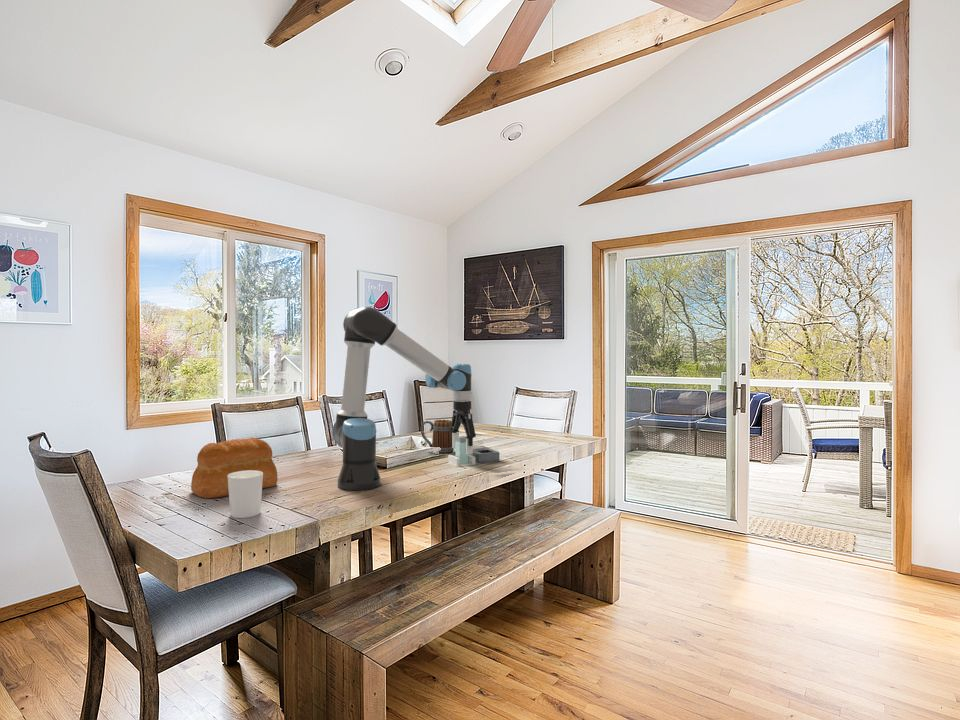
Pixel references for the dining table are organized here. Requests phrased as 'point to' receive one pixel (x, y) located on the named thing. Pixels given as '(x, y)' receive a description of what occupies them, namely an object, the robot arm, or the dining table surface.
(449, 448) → the mug
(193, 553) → the dining table surface
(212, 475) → the bread
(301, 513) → the dining table surface
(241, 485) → the candle holder
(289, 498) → the dining table surface
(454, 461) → the holster
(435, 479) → the dining table surface
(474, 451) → the port panel
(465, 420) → the robot arm
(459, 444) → the plug
